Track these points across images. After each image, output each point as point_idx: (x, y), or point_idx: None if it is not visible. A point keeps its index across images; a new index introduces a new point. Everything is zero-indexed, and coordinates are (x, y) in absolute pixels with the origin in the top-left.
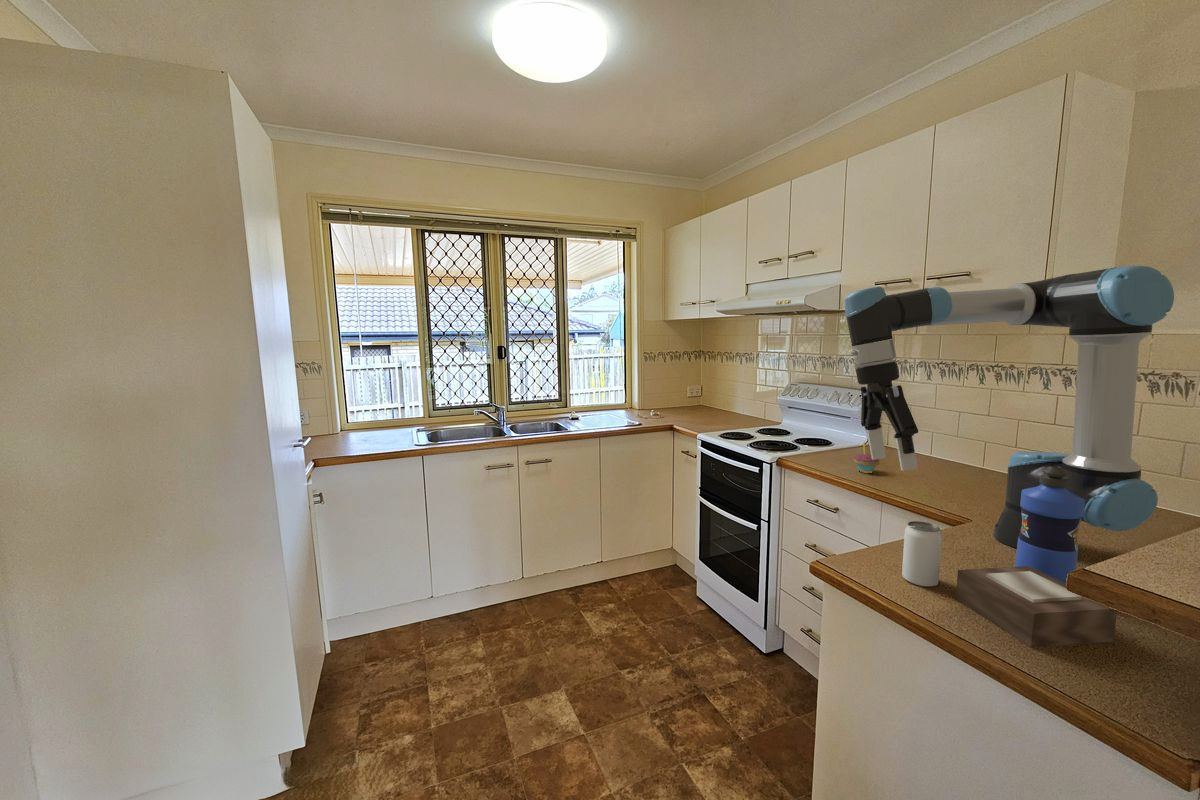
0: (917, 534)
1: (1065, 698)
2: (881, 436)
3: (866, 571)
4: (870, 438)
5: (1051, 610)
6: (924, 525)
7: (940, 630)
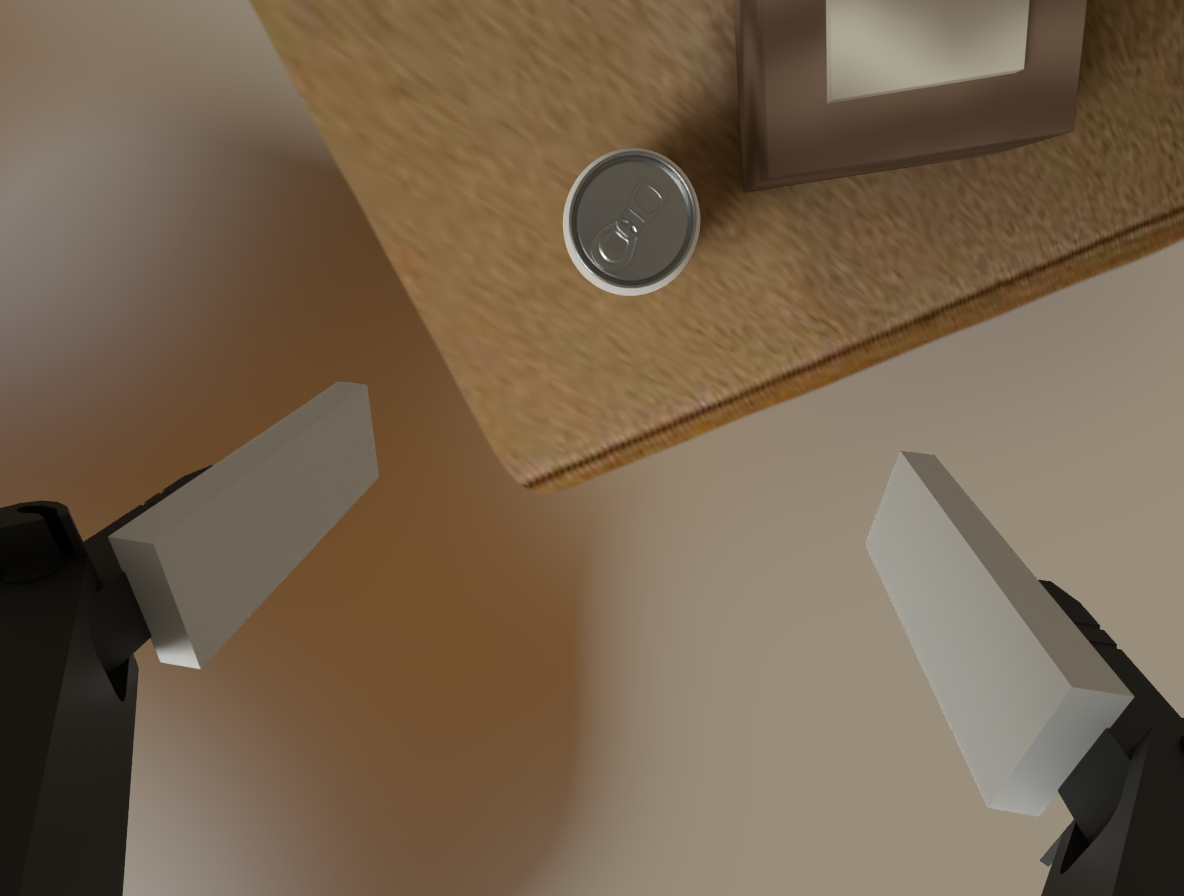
0: (670, 275)
1: (1166, 232)
2: (231, 494)
3: (572, 377)
4: (264, 592)
5: (1069, 47)
6: (606, 200)
7: (891, 347)
